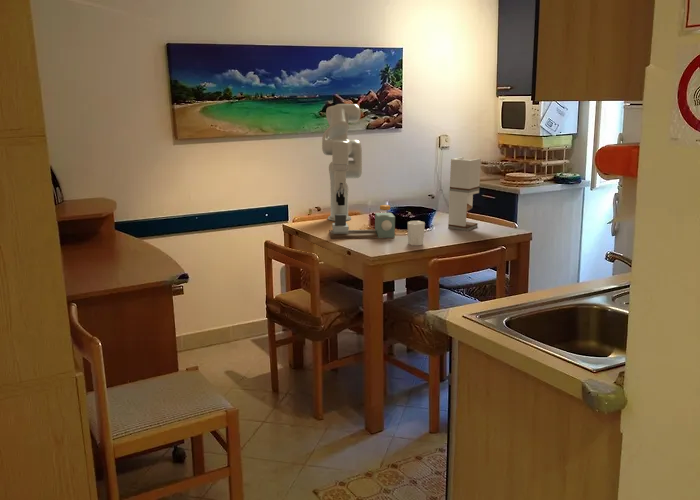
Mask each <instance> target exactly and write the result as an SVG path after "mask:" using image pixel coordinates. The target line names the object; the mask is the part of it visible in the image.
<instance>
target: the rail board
mask: <svg viewBox="0 0 700 500" xmlns="http://www.w3.org/2000/svg"><path fill="white" fill-rule="evenodd" d="M328 234H329V237H330V239H331V240H342V239H343V240H344V239H345V240H349V239H351V240H352V239H355V240H356V239H377V238H378V237H377V234H376V232H375V229H349V232H348V234H333V229H331V230H329V231H328Z"/></svg>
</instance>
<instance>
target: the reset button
mask: <svg viewBox="0 0 700 500" xmlns="http://www.w3.org/2000/svg"><path fill="white" fill-rule="evenodd" d="M379 210H381V211H390V210H391V205H389V204H381V205H379Z"/></svg>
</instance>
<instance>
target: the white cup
mask: <svg viewBox="0 0 700 500" xmlns="http://www.w3.org/2000/svg"><path fill="white" fill-rule="evenodd" d="M425 226H426V223H425V221H421V220H410V221H407V243H408V245H410V244H411V245H410V246H422V245H424V237H425V230H426V229H425Z"/></svg>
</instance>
